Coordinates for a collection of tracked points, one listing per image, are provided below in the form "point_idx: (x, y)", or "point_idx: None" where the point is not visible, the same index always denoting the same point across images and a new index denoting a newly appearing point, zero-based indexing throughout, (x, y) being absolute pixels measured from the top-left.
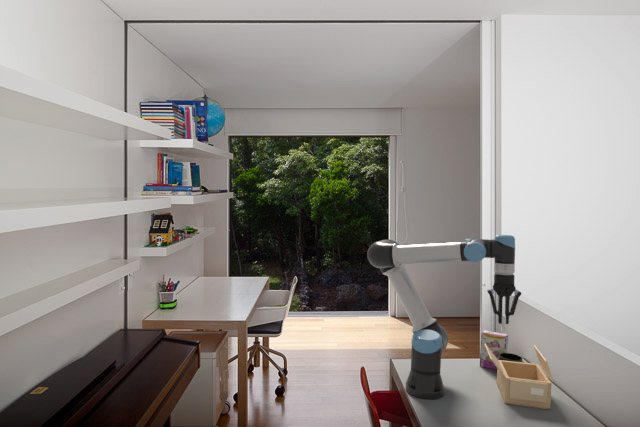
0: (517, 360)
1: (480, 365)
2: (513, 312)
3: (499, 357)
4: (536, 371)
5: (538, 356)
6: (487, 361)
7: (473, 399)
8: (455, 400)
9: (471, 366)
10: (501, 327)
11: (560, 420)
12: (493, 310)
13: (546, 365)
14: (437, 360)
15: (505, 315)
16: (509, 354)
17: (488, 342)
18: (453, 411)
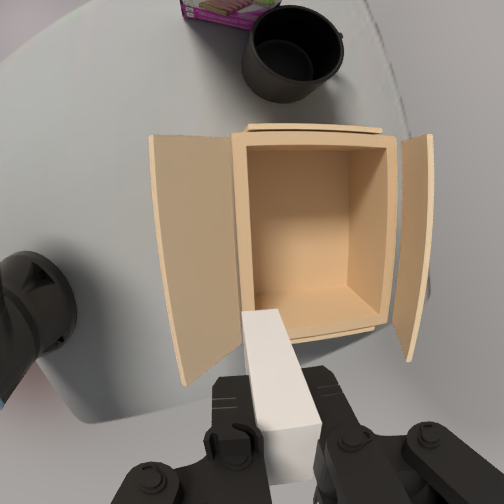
0: (322, 80)
1: (184, 15)
2: (420, 495)
3: (248, 45)
4: (376, 160)
5: (415, 184)
6: (207, 11)
7: (151, 308)
8: (109, 330)
9: (153, 26)
10: (246, 373)
11: (356, 337)
12: (127, 501)
13: (403, 344)
14: (18, 381)
15: (315, 466)
16: (295, 10)
17: None
18: (117, 383)
